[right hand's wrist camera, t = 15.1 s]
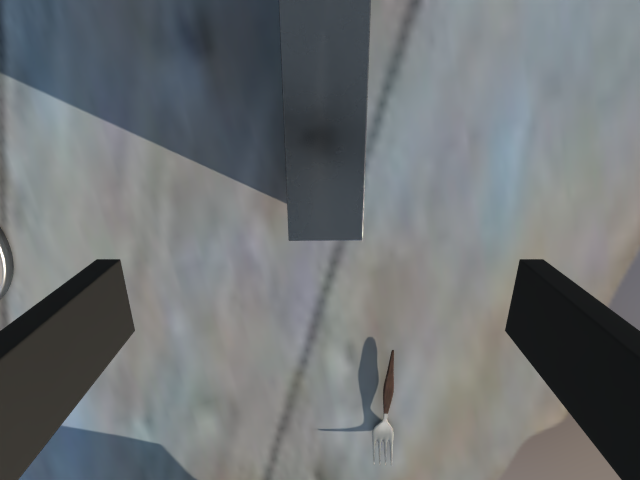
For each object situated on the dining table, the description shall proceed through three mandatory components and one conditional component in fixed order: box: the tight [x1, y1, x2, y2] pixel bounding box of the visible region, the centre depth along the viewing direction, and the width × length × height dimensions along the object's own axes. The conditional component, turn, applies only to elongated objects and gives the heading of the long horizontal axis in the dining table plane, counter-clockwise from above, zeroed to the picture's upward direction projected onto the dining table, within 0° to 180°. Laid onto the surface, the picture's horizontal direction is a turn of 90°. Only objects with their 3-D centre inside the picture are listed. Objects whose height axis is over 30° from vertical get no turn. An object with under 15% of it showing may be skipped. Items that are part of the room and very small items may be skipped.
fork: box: [372, 350, 394, 466], centre depth 44 cm, size 3×16×2 cm, turn 179°
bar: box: [279, 0, 371, 241], centre depth 28 cm, size 29×6×9 cm, turn 0°
